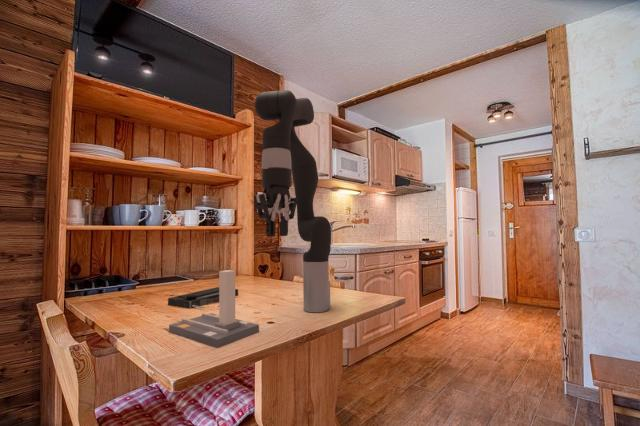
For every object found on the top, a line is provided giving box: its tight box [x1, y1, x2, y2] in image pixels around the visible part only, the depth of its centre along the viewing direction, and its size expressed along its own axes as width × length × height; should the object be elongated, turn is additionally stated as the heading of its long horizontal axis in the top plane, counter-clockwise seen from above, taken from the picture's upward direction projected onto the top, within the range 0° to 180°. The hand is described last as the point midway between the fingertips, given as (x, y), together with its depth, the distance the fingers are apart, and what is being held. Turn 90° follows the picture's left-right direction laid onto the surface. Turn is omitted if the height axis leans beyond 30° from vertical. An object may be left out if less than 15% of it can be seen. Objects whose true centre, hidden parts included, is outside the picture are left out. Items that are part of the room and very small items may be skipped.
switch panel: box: [168, 312, 260, 349], centre depth 88 cm, size 14×22×3 cm, turn 55°
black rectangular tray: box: [167, 286, 239, 309], centre depth 127 cm, size 25×4×20 cm
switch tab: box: [215, 269, 239, 330], centre depth 85 cm, size 5×4×16 cm
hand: (277, 235), depth 78 cm, fingers open, 4 cm apart
